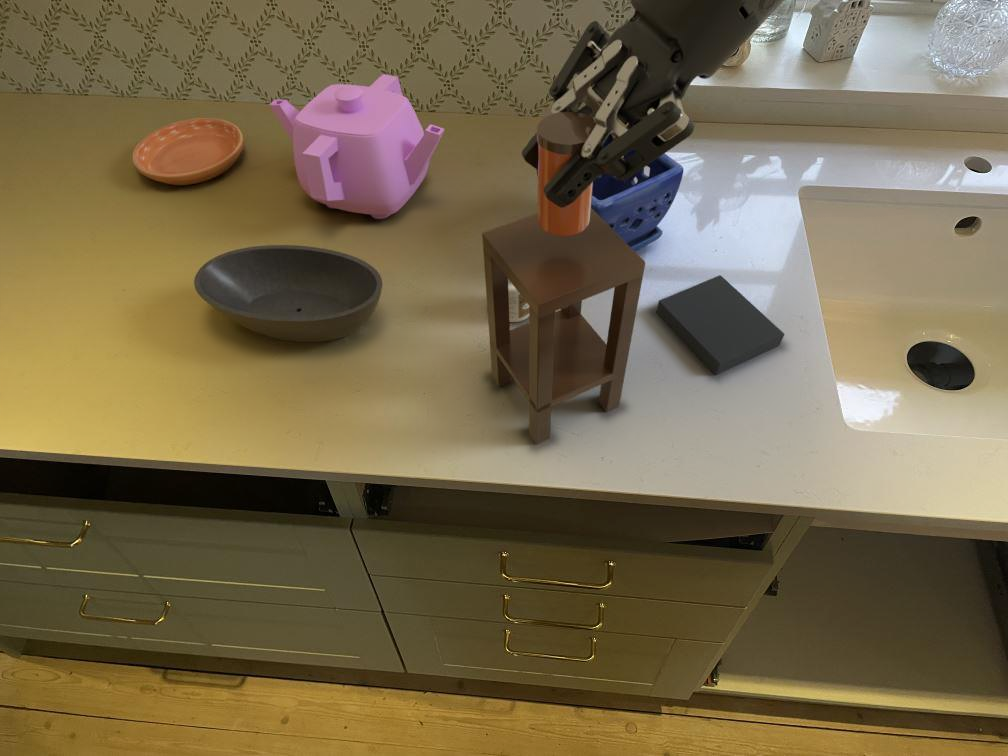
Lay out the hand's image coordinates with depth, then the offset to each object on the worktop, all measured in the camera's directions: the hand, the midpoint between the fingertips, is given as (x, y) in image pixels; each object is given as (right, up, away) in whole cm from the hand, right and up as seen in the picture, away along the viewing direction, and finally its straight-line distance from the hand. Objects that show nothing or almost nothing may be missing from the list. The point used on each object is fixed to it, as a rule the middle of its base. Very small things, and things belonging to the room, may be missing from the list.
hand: (541, 180), depth 49 cm
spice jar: (+2, -2, +4) cm, 4 cm away
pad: (+22, -9, +26) cm, 35 cm away
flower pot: (+10, +3, +37) cm, 38 cm away
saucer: (-50, +18, +51) cm, 74 cm away
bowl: (-27, -8, +29) cm, 41 cm away
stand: (+3, -16, +21) cm, 27 cm away
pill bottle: (-2, -7, +29) cm, 30 cm away
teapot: (-22, +12, +45) cm, 51 cm away
